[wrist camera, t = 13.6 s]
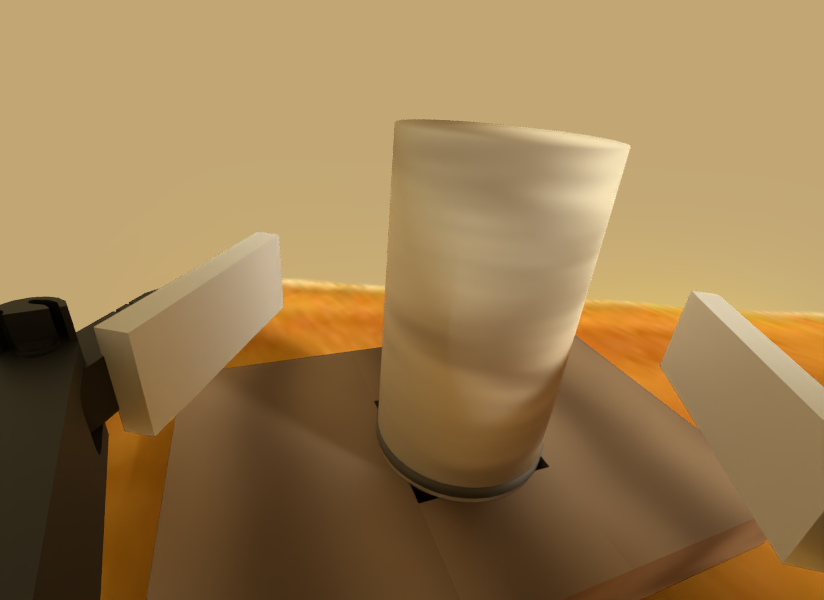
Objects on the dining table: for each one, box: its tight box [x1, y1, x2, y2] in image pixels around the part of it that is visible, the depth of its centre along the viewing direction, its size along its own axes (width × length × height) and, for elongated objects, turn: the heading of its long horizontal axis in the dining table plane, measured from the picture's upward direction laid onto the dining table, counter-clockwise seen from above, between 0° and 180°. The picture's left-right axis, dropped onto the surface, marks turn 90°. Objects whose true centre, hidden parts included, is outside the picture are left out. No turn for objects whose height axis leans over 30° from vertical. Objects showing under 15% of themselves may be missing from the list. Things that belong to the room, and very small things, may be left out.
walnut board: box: [146, 335, 767, 600], centre depth 19 cm, size 22×14×2 cm, turn 111°
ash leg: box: [376, 120, 630, 502], centre depth 16 cm, size 7×7×14 cm
